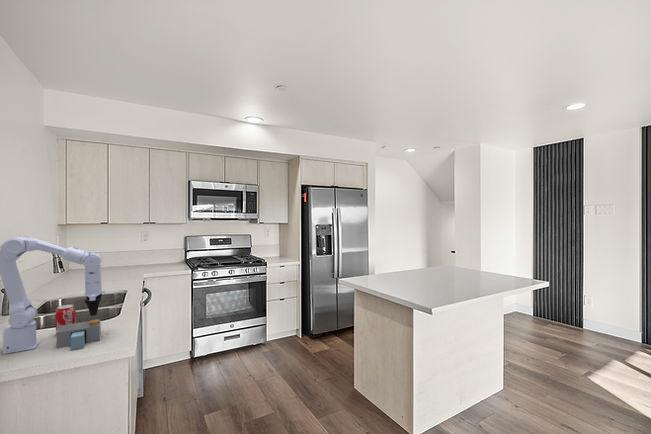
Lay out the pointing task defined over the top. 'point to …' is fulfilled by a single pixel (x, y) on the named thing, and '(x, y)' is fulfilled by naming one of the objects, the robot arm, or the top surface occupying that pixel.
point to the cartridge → (78, 339)
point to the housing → (67, 330)
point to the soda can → (65, 315)
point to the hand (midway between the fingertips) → (94, 313)
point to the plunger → (94, 322)
